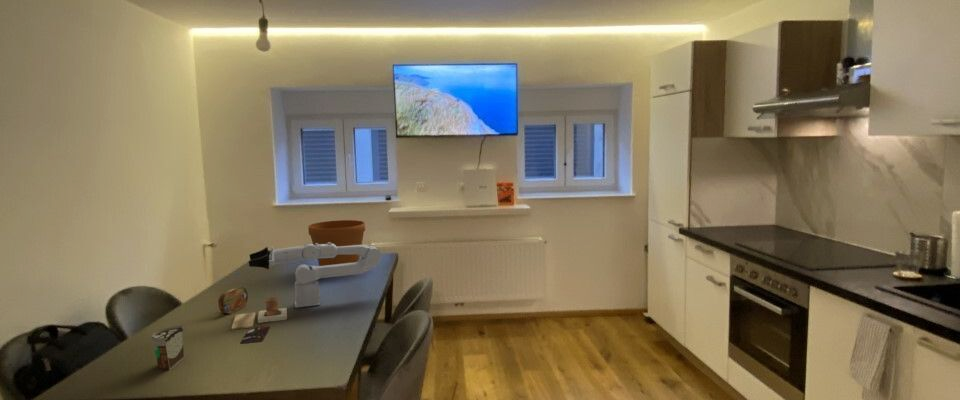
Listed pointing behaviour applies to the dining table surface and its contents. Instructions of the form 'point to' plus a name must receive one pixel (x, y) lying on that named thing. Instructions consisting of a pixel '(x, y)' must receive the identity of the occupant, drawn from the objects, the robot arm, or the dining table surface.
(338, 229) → the flowerpot
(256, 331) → the smartphone
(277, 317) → the pocket plate
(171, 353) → the food container
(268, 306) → the block
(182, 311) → the dining table surface
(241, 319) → the oak board
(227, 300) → the tin
